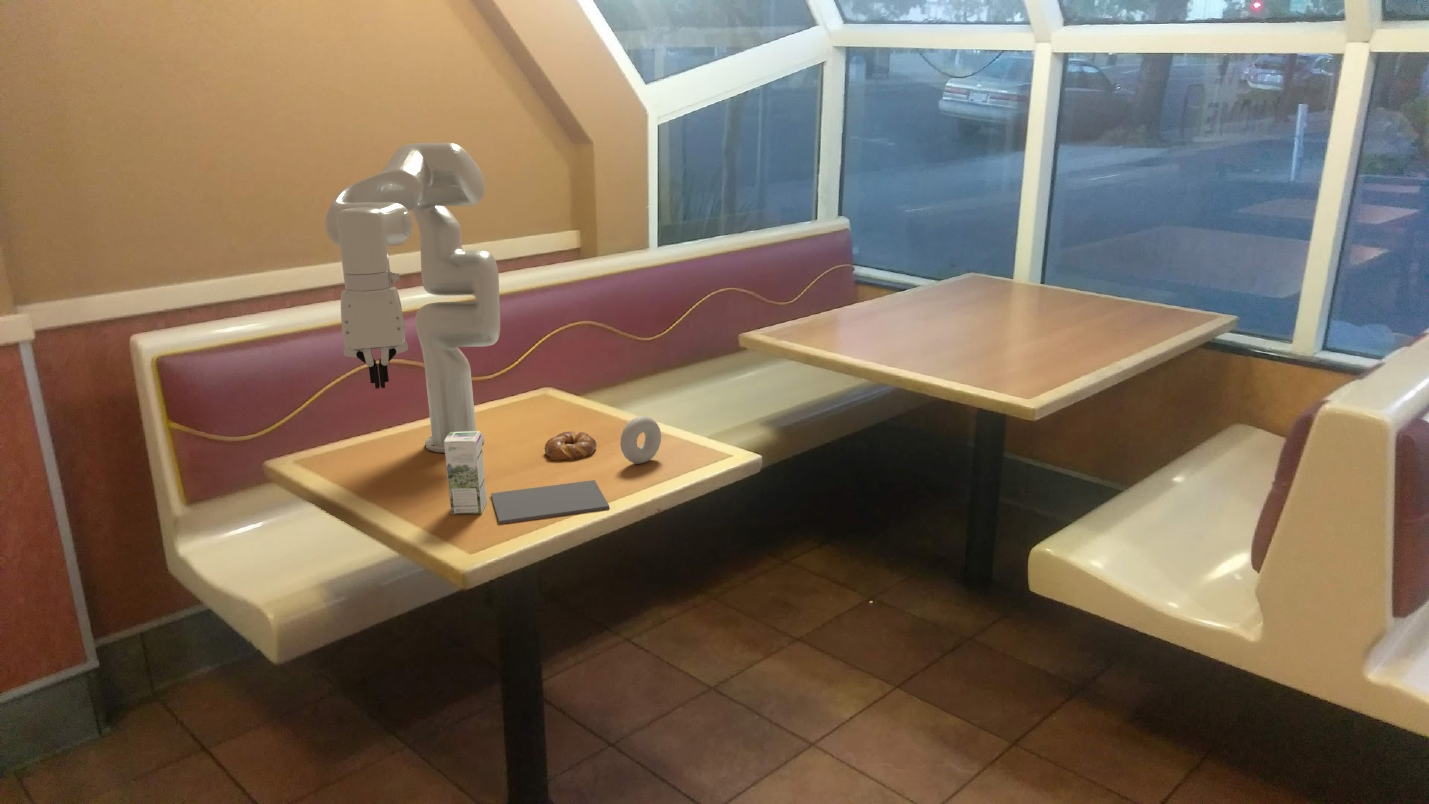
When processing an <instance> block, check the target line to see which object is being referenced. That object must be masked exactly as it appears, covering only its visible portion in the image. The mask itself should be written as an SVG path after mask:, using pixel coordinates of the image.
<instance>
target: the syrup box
mask: <svg viewBox="0 0 1429 804" xmlns="http://www.w3.org/2000/svg"><path fill="white" fill-rule="evenodd" d="M481 434H482V432H481V431H480V430H476V431H466V432H450V433H449V434H448V435H447V437H446V439H445V441H444V448H445V453H444V457H445V463H446V464H445V465H446V467H445V468H446V475H447V486H448V495H449V505H450V512H451V515H476V514H477V515H478V514H479V515H481V514H483V512H484V510H485V507H486V506H487V503H488V498H487V497H488V496H487V487H486V479H485V469H484V466H485V465H484V457H483V444H482V441H481Z"/></svg>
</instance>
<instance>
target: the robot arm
mask: <svg viewBox="0 0 1429 804" xmlns="http://www.w3.org/2000/svg"><path fill="white" fill-rule="evenodd" d="M485 191H486V184H485V178H484V175H483V172H482V170H481V168H480V167H479V165H478V164H477V163H476V162H475V160H474V159H473V157H471V155H470V154H469V152H468V151H466V149H465V148H463V147H462V146H460V145H459V144H456V143H453V142H420V143H419V142H415V143H407V144H404V145H402V146H401V147H399V148H398V149H397V150H396V151H395V152H394V154H392V157H390V160H389V161H388V162H387V164H386V165H385V167H384V168H383V169H382V171H381V172H379V173H376V174H374V175H372V176H369V177H367V178H365V179H362V180H360V181H357V182H355V183H353V184H351V185H348V186H347V187H345V188H343V189H342V190H341V191H340V192H339V193H338V194H337V195H336V196H335V198H334V199H333V200H332V202H331V204H330V205H329V207H328V209H327V212H326V215H325V219H324V220H325V221H324V224H325V231H326V234H327V237H329V239H330V240H331V241H332V243H333V244H335V245H337V246H339V249H340V256H341V265H342V266H341V267H342V272H343V280H344V281H343V282H344V288H345V289H343V290H341V291H340V292H341V293H340V320H341V321H340V323H341V333H342V339H343V344H344V345H343V350H342V351H343V352H342V353H343V356H345V357H349V358H356V359H357V358H358V359H359V360H360V361H361V362H363V363H364V364H365V365H366V366H367V367H368V371H369V380H370V384H374V388H375V389H376V390H378V389H379V388H381V389H386V383H389V382H390V378H389V371H388V370H389V369H388V365H389V363H390V362H391V360H392V359H393V358H394V357H395V356H396V355H399V354H402V353H405V352H408V350H409V345H408V342H407V340H406V328H405V327H406V326H405V320H404V315H403V308H402V303H401V299H400V295H399V292H398V289H397V287H396V286H393V284H394V283H396V282H401V280H400V279H401V278H400V273H398V272H397V273H395V272H393V271H391V267H390V260H389V259H390V257H389V250H388V249H389V248H388V247H395V246H396V247H398V246H400V245H402V244H404V243H406V242H407V241H408V240H409V239H410V237H411V235H412V232H413V230H414V221H413V217H414V219H415V221H416V223H417V227H418V230H419V245H420V248H419V249H420V270H421V271H420V272H421V282H422V286H423V289H424V291H426V293H428V294H431V295H433V296H446V297H447V296H449V297H450V296H473V297H474V298H475V301H438V302H437V301H436V302H430V303H427V304H425V305H423V306H420V308H419V309H418V310H417V312H416V314H415V318H414V323H415V330H416V334H417V337H418V341H419V344H420V348H421V352H422V358H423V364H424V373H425V382H426V385H425V386H426V392H427V402H428V411H429V422H430V431H431V436H429V437H428V438H427V439H426V440H425V442H424V443H425V448H426V449H427V450H429V451H431V452H434V453H443V454H445V448H444V441H445V439H446V437H447V435H448V434H449V433H450V432H466V431H477V426H476V424H477V423H476V413H475V403H474V392H473V382H472V370H471V365H470V361H469V359H468V358H467V357H466V356H465V354H464V353H463V351H462V350H461V349H460V348H462V347H463V348H467V347H468V348H469V347H470V348H471V347H474V348H475V347H477V348H478V347H479V348H480V347H489V346H493V345H495V344H496V343H497V342H498V341H499V338H500V334H501V311H500V310H501V308H500V307H501V306H500V280H499V279H500V278H499V276H500V275H499V269H498V263H497V262H496V258H495V257H494V255H493V254H492V253H490V252H489V251H486V250H482V249H466V250H465V249H463V246H462V245H463V244H462V243H463V242H462V228H461V225H460V222H459V221H458V220H457V218H456V217H455V216H454V214H453V213H452V212H451V210H449V209H448V208H447V207H472V206H475V205H478V204H480V203H481V202H482V201H483V198H484V197H485V196H484V195H485ZM410 212H411V213H412V215H413V217H412V215H411V213H410ZM377 349H380V353H381V354H380V359H379V361H378V363H377V360H376V359H374V355H373V352H372V350H377ZM379 390H380V389H379ZM481 441H482V445H484V442H485V436H484V434H482V433H481Z"/></svg>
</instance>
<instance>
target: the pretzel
mask: <svg viewBox="0 0 1429 804" xmlns="http://www.w3.org/2000/svg"><path fill="white" fill-rule="evenodd" d="M596 447H597V442H596V439H595V438H593V437H592V436H590V435H589V434H588V433H586V432H578V433H577V432H574V431H563V432H561V433H559V434H557V435H556V436H553V437H551V438H549V439H548V440H547V441H546V442H545V445H544V448H543V449H544V452H545V454H546V456H548V457H549V458H550V459H551V460H552V461H557V462H563V461H570V460H580V459H582V458H584V457H588V456H591V455H593V453H594V452H595V449H596Z"/></svg>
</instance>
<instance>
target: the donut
mask: <svg viewBox="0 0 1429 804" xmlns="http://www.w3.org/2000/svg"><path fill="white" fill-rule="evenodd" d="M642 433H644V442H643V444H642V445H641V446H640V447H639V446H638V438H639V436H640V435H641V434H642ZM661 442H662V432H661V428H660V427H659V424H658V423H657V421H656V420H654V418H652V417H649V416H646V415H642V416H639V415H638V416H636V417H635V418H632V419H631V420H630V421H629V422H627V423H626V425H625V427H624V428H623V430H622V433H621V436H620V444H619V445H620V448H621V449H620V450H621V452H622V455H623V457H624V458H625V459H626V460H628V461H629V462H630V463H633V464H637V465H638V464H639V465H640V464H645V463H647V462H649V461H651V460H652V459H653V458H654V457H655V456H656V454H657V453H658V451H659V449H660V446H661Z"/></svg>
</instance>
